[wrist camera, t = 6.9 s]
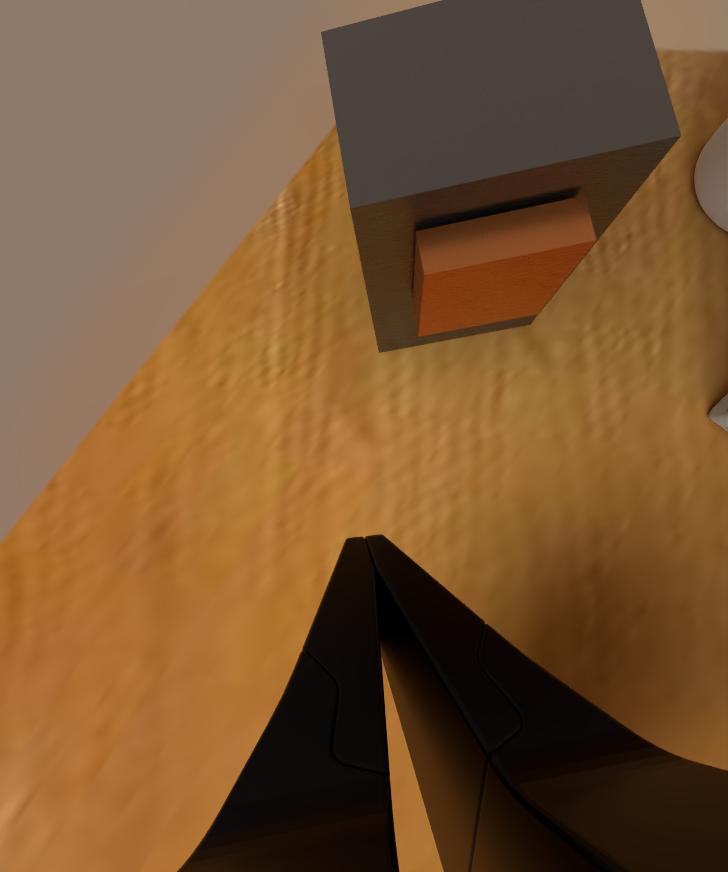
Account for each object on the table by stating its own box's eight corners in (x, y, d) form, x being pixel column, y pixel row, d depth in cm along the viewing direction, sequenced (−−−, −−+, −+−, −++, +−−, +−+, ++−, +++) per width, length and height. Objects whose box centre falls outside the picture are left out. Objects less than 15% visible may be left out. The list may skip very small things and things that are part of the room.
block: (530, 324, 23) (681, 135, 10) (379, 352, 23) (350, 208, 11) (509, 231, 23) (626, -48, 11) (363, 261, 24) (320, 32, 12)
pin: (537, 314, 17) (596, 240, 12) (418, 336, 17) (424, 275, 12) (499, 147, 18) (538, 12, 13) (388, 172, 18) (382, 52, 13)
